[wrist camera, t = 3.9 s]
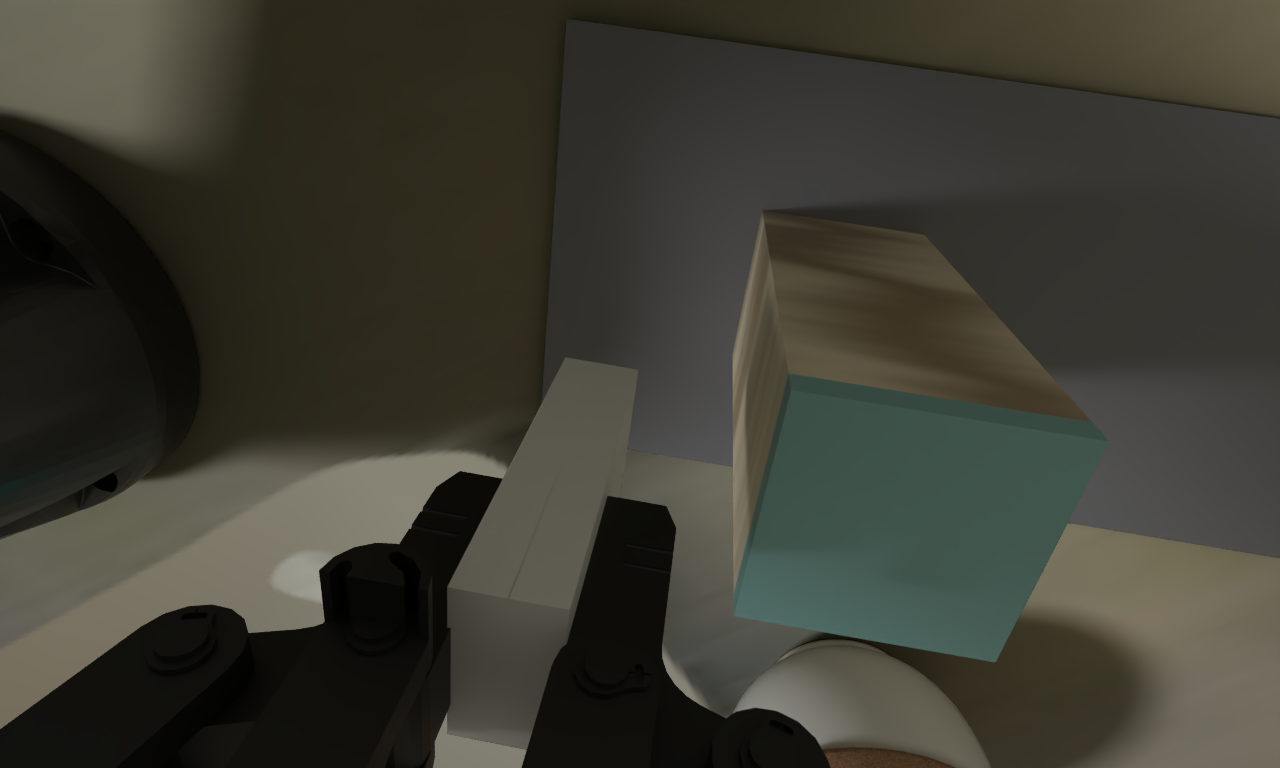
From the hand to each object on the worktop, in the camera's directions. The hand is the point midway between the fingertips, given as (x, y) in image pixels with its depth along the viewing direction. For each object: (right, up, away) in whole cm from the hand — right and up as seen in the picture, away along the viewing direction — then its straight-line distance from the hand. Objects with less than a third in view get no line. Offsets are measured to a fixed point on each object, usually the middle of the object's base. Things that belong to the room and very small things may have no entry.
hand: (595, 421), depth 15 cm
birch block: (+7, +4, +8) cm, 11 cm away
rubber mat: (+12, +3, +8) cm, 15 cm away
